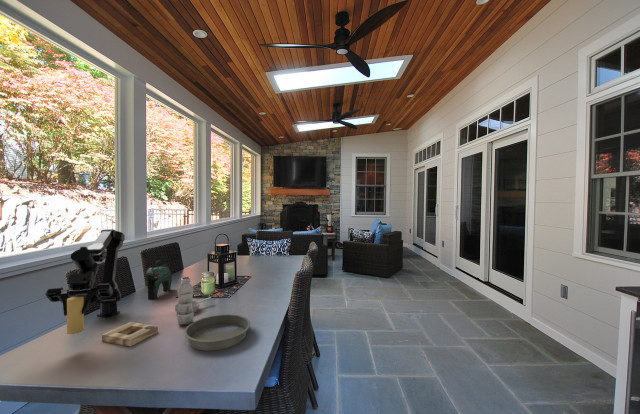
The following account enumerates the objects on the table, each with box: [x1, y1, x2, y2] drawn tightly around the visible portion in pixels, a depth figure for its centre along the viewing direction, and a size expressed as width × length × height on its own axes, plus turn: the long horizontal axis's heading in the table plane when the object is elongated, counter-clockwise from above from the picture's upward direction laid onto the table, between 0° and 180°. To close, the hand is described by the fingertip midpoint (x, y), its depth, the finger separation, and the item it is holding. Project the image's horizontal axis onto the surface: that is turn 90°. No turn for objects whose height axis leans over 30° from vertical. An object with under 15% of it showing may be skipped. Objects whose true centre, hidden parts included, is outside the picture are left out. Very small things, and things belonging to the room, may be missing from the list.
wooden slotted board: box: [101, 321, 159, 347], centre depth 111 cm, size 14×12×3 cm
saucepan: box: [174, 296, 212, 314], centre depth 139 cm, size 11×18×4 cm, turn 143°
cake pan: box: [183, 313, 251, 352], centre depth 111 cm, size 25×25×4 cm
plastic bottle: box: [176, 276, 195, 326], centre depth 123 cm, size 6×7×20 cm
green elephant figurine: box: [145, 260, 173, 300], centre depth 161 cm, size 20×6×20 cm, turn 179°
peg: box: [66, 295, 85, 335], centre depth 101 cm, size 5×5×12 cm
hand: (73, 314), depth 99 cm, fingers closed on peg, 5 cm apart
